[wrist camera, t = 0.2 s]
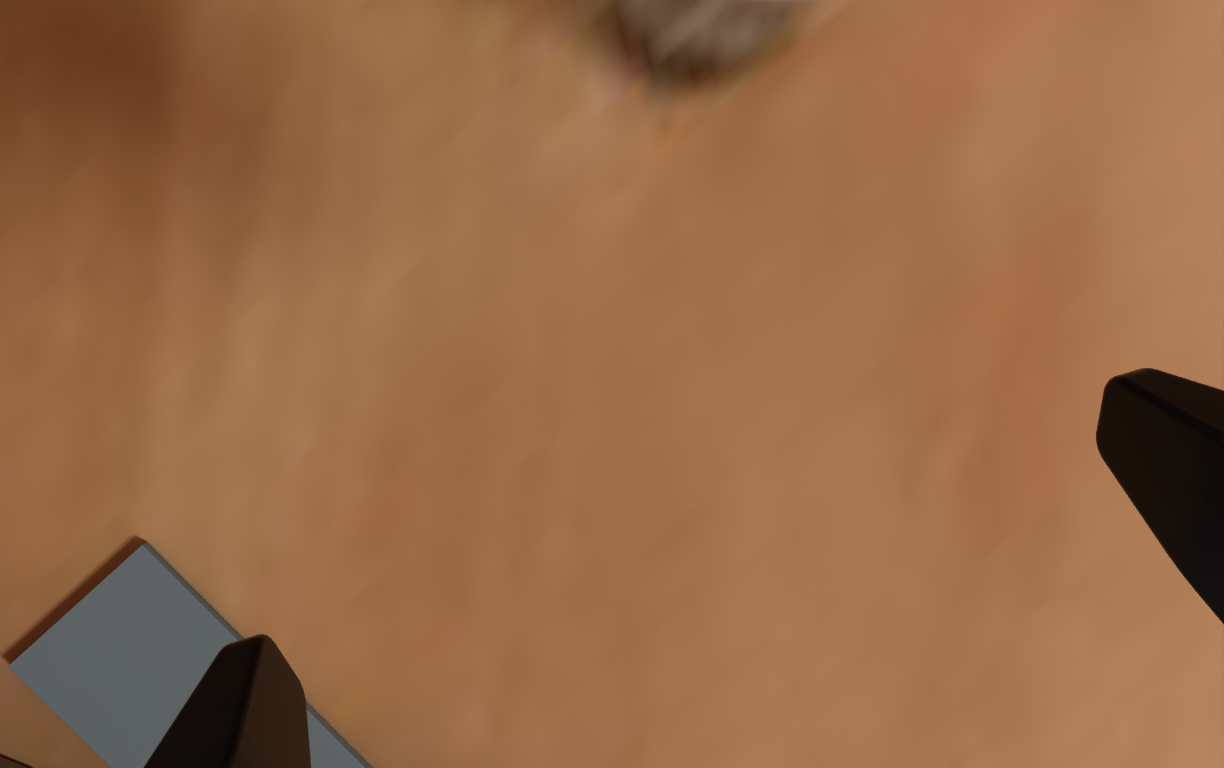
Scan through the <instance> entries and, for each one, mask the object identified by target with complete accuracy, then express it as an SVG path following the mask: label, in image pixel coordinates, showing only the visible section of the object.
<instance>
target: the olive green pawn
mask: <svg viewBox="0 0 1224 768" xmlns="http://www.w3.org/2000/svg"><path fill="white" fill-rule="evenodd" d="M0 768H27V767H25V766H22V765H20V764H17V763H15V762H12V761H10V760H7V759H5V758H2V757H0Z"/></svg>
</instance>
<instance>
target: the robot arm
mask: <svg viewBox="0 0 1224 768" xmlns="http://www.w3.org/2000/svg"><path fill="white" fill-rule="evenodd" d="M1096 442H1097V447H1098V450H1099V452H1100V455H1101V457H1102V458H1103V460H1104V462H1105V463H1106V464H1107V466H1108V467H1109V469H1110V470H1111V472H1112V473H1113V475H1114V476H1115V478H1116V479H1117V481H1118V482H1119V484H1120V485H1121V487H1122V488H1123V489H1124V491H1125V492H1126V494H1127V495H1128V497H1129V498H1130V500H1131V501H1132V503H1133V504H1134V506H1135V507H1136V509H1137V510H1138V512H1139V513H1140V514H1141V516H1142V517H1143V519H1144V520H1145V522H1146V523H1147V525H1148V526H1149V528H1150V529H1151V531H1152V532H1153V534H1154V535H1155V537H1156V538H1157V539H1158V541H1159V542H1160V544H1161V545H1162V547H1163V548H1164V550H1165V551H1166V553H1167V554H1168V556H1169V557H1170V558H1171V560H1172V561H1173V562H1174V564H1175V565H1176V567H1177V568H1178V569H1179V571H1180V572H1181V573H1182V575H1183V576H1184V577H1185V578H1186V580H1187V581H1188V582H1189V583H1190V584H1191V586H1192V587H1193V588H1194V589H1195V591H1196V592H1197V593H1198V594H1199V596H1200V597H1201V598H1202V599H1203V600H1204V601H1205V603H1206V604H1207V605H1208V606H1209V607H1210V609H1211V610H1212V611H1213V612H1214V613H1215V614H1216V616H1217V617H1218V618H1219V619H1220V620H1221V622H1222V623H1223V624H1224V391H1223V390H1220V389H1217V388H1214V387H1211V386H1207V385H1204V384H1201V383H1198V382H1195V381H1191V380H1188V379H1185V378H1182V377H1179V376H1175V375H1172V374H1169V373H1166V372H1163V371H1159V370H1156V369H1152V368H1143V369H1138V370H1135V371H1132V372H1128V373H1125V374H1122V375H1118V376H1115V377H1113V378H1111V379H1110V380H1109V381H1108V383H1107V384H1106V385H1105V388H1104V393H1103V398H1102V404H1101V409H1100V415H1099V420H1098V426H1097V431H1096ZM143 768H311V756H310V744H309V732H308V720H307V708H306V700H305V695H304V691H303V688H302V685H301V683H300V681H299V679H298V677H297V676H296V674H295V673H294V671H293V670H292V668H291V667H290V665H289V664H288V662H287V661H286V659H285V658H284V656H283V655H282V653H281V652H280V650H279V648H278V647H277V645H276V644H275V642H274V641H273V640H272V639H271V638H270V637H269V636H267V635H264V634H261V635H260V634H259V635H255V636H252V637H249V638H246V639H242V640H239V641H236V642H232V643H229V644H227V645H226V646H224V647H223V648H222V649H221V650H220V651H219V653H218V654H217V655H216V657H215V659H214V660H213V662H212V663H211V665H210V666H209V668H208V669H207V671H206V672H205V674H204V675H203V677H202V678H201V680H200V682H199V683H198V685H197V686H196V688H195V689H194V691H193V692H192V694H191V695H190V697H189V698H188V700H187V701H186V703H185V705H184V706H183V708H182V709H181V711H180V712H179V714H178V715H177V717H176V718H175V720H174V721H173V723H172V724H171V726H170V728H169V729H168V731H167V732H166V734H165V735H164V737H163V738H162V740H161V741H160V743H159V744H158V746H157V747H156V749H155V751H154V752H153V754H152V755H151V757H150V758H149V760H148V761H147V763H146V764H145V766H144V767H143Z"/></svg>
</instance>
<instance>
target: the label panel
mask: <svg viewBox="0 0 1224 768" xmlns="http://www.w3.org/2000/svg"><path fill="white" fill-rule="evenodd" d="M242 639H244V638H243V637H242V636H241V635H240V634H239V633H238V632H237V631H236V630H235V629H234V628H233V627H232V626H231V625H230V624H229V623H228V622H227V621H226V620H225V619H224V618H223V617H222V616H221V615H220V614H219V613H218V612H217V611H216V610H215V609H214V608H213V607H212V606H211V605H210V604H209V603H208V602H207V601H206V600H205V599H204V598H203V597H202V596H201V595H200V594H199V593H198V592H197V591H196V590H195V589H194V588H193V587H192V586H191V585H190V584H189V583H188V582H187V581H186V580H185V579H184V578H183V577H182V576H181V575H180V574H179V573H178V572H177V571H176V570H175V569H174V568H173V567H172V566H171V565H170V564H169V563H168V562H167V561H166V560H165V559H164V558H163V557H162V556H161V555H160V554H159V553H158V552H157V551H156V550H155V549H154V548H153V547H152V546H151V545H150V544H149V543H148V542H147V543H145V544H143V545H141V546H140V547H139V548H138V549H137V550H136V551H135V552H134V553H133V554H131V555H130V556H129V557H128V558H127V559H126V560H125V561H124V562H123V563H122V564H120V565H119V566H118V567H117V568H116V569H115V570H114V571H113V572H112V573H111V574H109V575H108V576H107V577H106V578H105V579H104V580H103V581H102V582H101V583H100V584H98V585H97V586H96V587H95V588H94V589H93V590H92V591H91V592H90V593H88V594H87V595H86V596H85V597H84V598H83V599H82V600H81V601H80V602H79V603H77V604H76V605H75V606H74V607H73V608H72V609H71V610H70V611H69V612H68V613H66V614H65V615H64V616H63V617H62V618H61V619H60V620H59V621H58V622H56V623H55V624H54V625H53V626H52V627H51V628H50V629H49V630H48V631H47V632H45V633H44V634H43V635H42V636H41V637H40V638H39V639H38V640H37V641H36V642H34V643H33V644H32V645H31V646H30V647H29V648H28V649H27V650H26V651H24V652H23V653H22V654H21V655H20V656H19V657H18V658H17V659H16V660H15V661H13V662H12V663H11V664H10V665H9V666H8V668H9V669H10V670H11V671H12V672H13V673H14V674H15V675H16V676H17V677H18V678H19V679H20V680H21V681H22V682H23V683H24V684H26V685H27V686H28V687H29V688H30V689H31V690H32V691H33V692H34V693H35V694H36V695H37V696H38V697H39V698H40V699H41V700H42V701H43V702H44V703H45V704H46V705H47V706H48V707H49V708H50V709H51V710H52V711H53V712H54V713H55V714H57V715H58V716H59V717H60V718H61V719H62V720H63V721H64V722H65V723H66V724H67V725H68V726H69V727H70V728H71V729H72V730H73V731H74V732H75V733H76V734H77V735H78V736H79V737H80V738H81V739H82V740H83V741H84V742H85V743H86V744H87V745H89V746H90V747H91V748H92V749H93V750H94V751H95V752H96V753H97V754H98V755H99V756H100V757H101V758H102V759H103V760H104V761H105V762H106V763H107V764H108V765H109V766H110V767H111V768H143V767H144V766H145V764H146V763H147V761H148V760H149V758H150V757H151V755H152V754H153V752H154V751H155V749H156V747H157V746H158V744H159V743H160V741H161V740H162V738H163V737H164V735H165V734H166V732H167V731H168V729H169V728H170V726H171V724H172V723H173V721H174V720H175V718H176V717H177V715H178V714H179V712H180V711H181V709H182V708H183V706H184V705H185V703H186V701H187V700H188V698H189V697H190V695H191V694H192V692H193V691H194V689H195V688H196V686H197V685H198V683H199V682H200V680H201V678H202V677H203V675H204V674H205V672H206V671H207V669H208V668H209V666H210V665H211V663H212V662H213V660H214V659H215V657H216V655H217V654H218V653H219V651H220V650H221V649H222V648H223V647H224V646H226V645H227V644H229V643H232V642H236V641H239V640H242ZM306 708H307V720H308V732H309V744H310V756H311V768H372V767H371V766H370V765H369V764H368V763H367V762H366V761H365V760H364V759H363V758H362V757H361V756H360V755H359V754H358V753H357V752H356V751H355V750H354V749H353V748H352V747H351V746H350V745H349V744H348V743H347V742H346V741H345V740H344V739H343V738H342V737H341V736H340V735H339V734H338V733H337V732H336V731H335V730H334V729H333V728H332V727H331V726H330V725H329V724H328V723H327V722H326V721H325V720H324V719H323V718H322V717H321V716H320V715H319V714H318V713H317V712H316V711H315V710H314V709H313V708H312V707H311V706H310V705H309V704H308V703H307V702H306Z"/></svg>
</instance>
